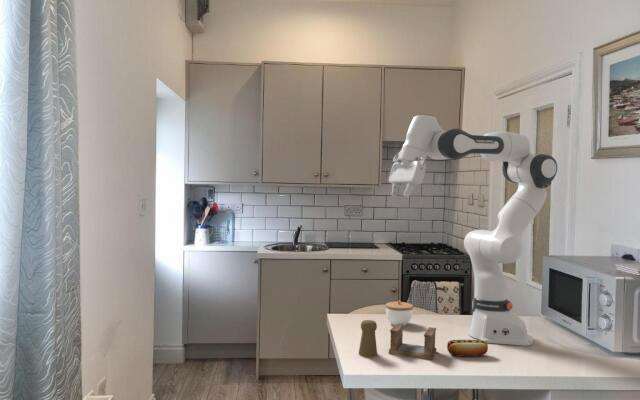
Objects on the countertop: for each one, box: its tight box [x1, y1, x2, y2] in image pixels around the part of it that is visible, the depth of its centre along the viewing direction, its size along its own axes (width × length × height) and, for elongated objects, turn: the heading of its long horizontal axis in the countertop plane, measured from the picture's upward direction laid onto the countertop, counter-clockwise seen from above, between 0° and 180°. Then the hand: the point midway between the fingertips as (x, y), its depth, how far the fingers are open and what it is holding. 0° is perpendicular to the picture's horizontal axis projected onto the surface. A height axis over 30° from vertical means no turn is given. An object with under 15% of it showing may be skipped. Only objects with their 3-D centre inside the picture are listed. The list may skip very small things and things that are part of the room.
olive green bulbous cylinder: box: [358, 319, 378, 358], centre depth 166 cm, size 6×6×11 cm
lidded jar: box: [385, 299, 414, 327], centre depth 203 cm, size 11×11×9 cm
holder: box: [388, 323, 437, 361], centre depth 169 cm, size 14×9×8 cm
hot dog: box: [446, 339, 489, 357], centre depth 167 cm, size 5×13×5 cm, turn 93°
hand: (399, 196), depth 175 cm, fingers open, 8 cm apart
